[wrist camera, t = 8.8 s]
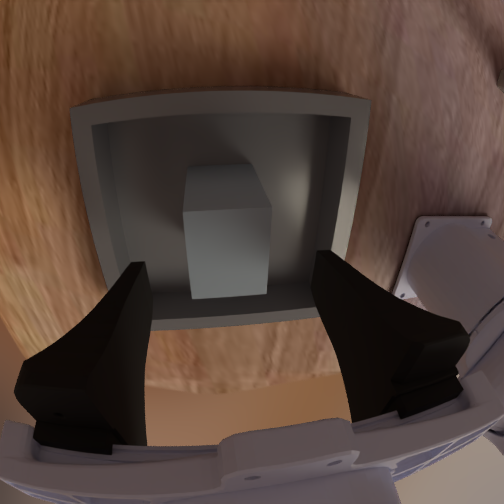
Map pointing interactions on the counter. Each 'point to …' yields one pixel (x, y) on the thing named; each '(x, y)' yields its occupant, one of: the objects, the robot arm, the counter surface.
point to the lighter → (501, 81)
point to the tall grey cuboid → (226, 231)
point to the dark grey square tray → (220, 153)
